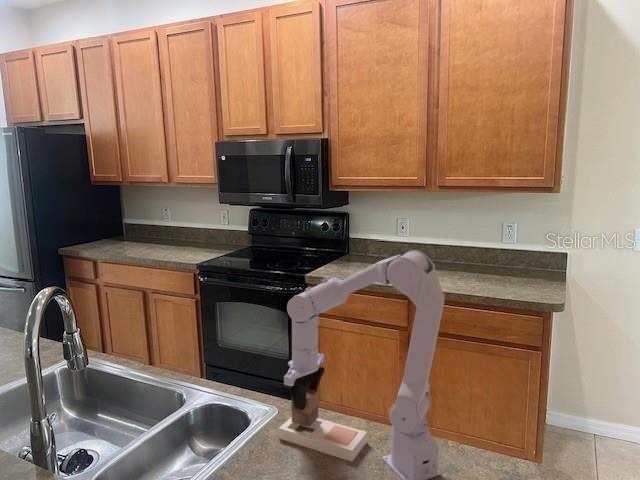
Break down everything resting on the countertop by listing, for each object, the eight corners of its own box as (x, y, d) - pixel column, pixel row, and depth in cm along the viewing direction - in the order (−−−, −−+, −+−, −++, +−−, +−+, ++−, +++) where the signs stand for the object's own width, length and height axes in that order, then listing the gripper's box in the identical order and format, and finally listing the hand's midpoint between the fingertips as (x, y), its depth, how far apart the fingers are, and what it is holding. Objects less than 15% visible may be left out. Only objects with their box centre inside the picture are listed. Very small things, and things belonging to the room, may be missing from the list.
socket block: (366, 442, 105) (366, 431, 104) (351, 461, 98) (352, 449, 97) (296, 421, 113) (296, 411, 113) (278, 438, 106) (278, 427, 106)
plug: (318, 417, 108) (318, 390, 107) (308, 426, 104) (308, 399, 103) (301, 413, 110) (301, 386, 109) (291, 421, 106) (291, 394, 105)
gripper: (305, 332, 113) (305, 386, 115) (271, 353, 100) (272, 413, 102) (332, 337, 109) (331, 393, 111) (300, 359, 97) (300, 421, 99)
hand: (305, 403), depth 106 cm, fingers closed on plug, 4 cm apart
